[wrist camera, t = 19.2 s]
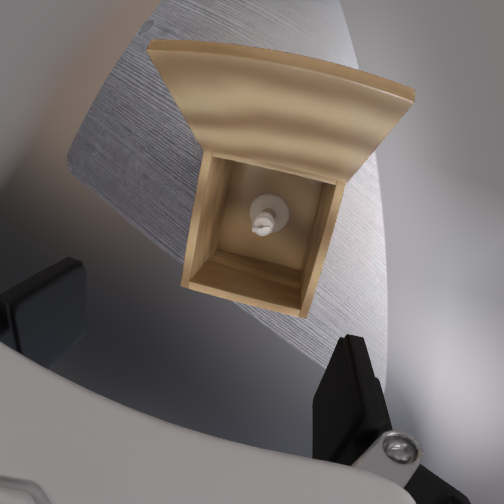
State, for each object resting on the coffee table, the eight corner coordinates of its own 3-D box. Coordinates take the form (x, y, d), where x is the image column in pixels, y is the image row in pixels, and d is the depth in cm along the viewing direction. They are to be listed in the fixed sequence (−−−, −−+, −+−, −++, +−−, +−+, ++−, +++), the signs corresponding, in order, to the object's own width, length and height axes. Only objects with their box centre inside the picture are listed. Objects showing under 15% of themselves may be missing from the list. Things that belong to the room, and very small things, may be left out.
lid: (415, 102, 12) (415, 88, 12) (145, 50, 12) (151, 38, 13) (347, 183, 26) (348, 174, 26) (201, 149, 27) (204, 141, 27)
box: (304, 274, 42) (306, 319, 30) (211, 251, 43) (180, 286, 31) (331, 172, 38) (347, 178, 26) (232, 149, 39) (204, 145, 27)
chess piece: (291, 231, 40) (288, 254, 30) (251, 233, 41) (237, 257, 31) (287, 191, 39) (284, 202, 29) (247, 194, 39) (231, 206, 30)
